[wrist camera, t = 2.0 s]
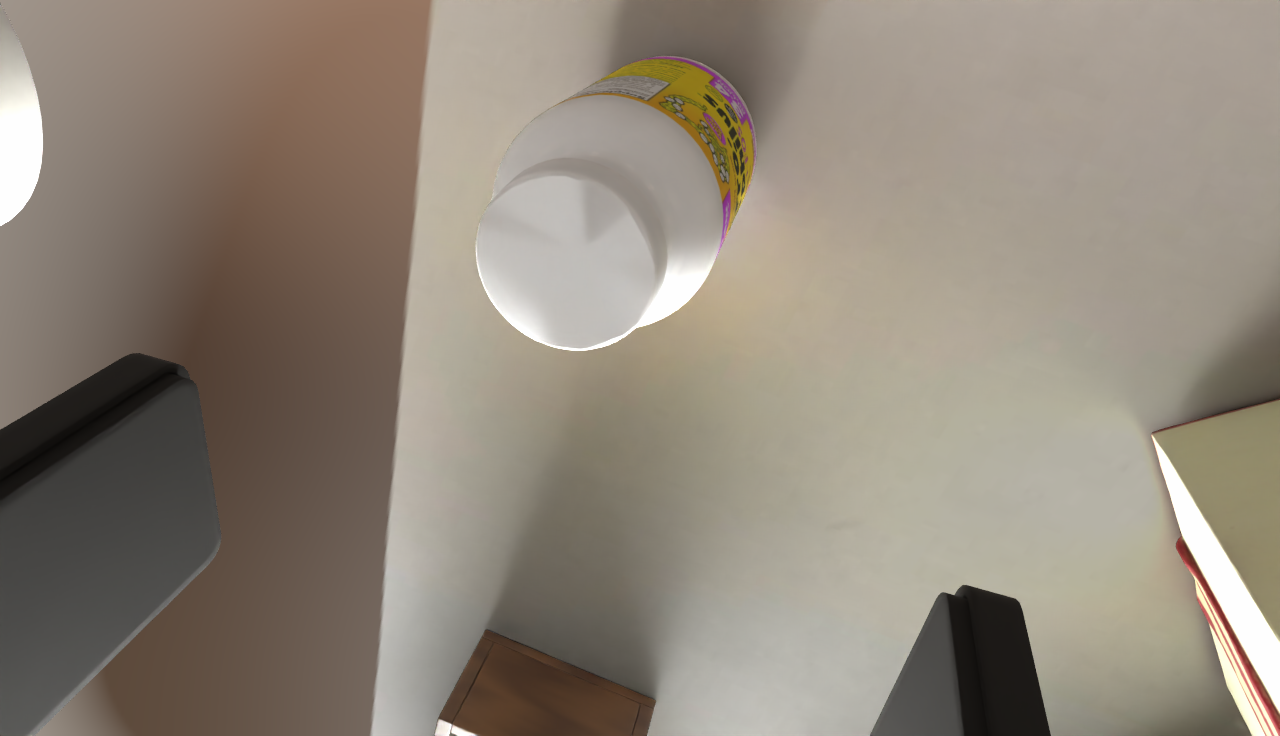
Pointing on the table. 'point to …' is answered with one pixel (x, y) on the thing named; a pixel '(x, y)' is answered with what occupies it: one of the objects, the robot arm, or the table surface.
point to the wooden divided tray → (537, 697)
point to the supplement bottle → (616, 203)
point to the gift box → (1233, 544)
